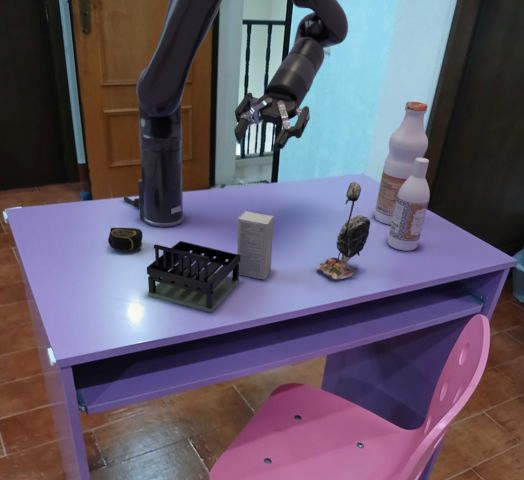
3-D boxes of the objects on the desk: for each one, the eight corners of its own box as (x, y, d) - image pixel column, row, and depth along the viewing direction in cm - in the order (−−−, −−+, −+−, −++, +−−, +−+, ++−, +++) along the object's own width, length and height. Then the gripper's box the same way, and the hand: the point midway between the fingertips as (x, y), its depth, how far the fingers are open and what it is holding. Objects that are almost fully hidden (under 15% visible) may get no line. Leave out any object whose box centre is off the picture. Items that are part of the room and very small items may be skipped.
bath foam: (402, 253, 127) (423, 166, 115) (381, 242, 132) (399, 156, 120) (423, 248, 130) (445, 162, 119) (401, 237, 135) (421, 153, 123)
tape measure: (143, 241, 123) (142, 225, 120) (140, 255, 117) (139, 239, 115) (111, 240, 122) (110, 224, 120) (107, 254, 116) (105, 237, 114)
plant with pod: (373, 274, 118) (393, 181, 106) (329, 284, 113) (345, 187, 101) (350, 258, 123) (367, 168, 112) (307, 266, 118) (320, 173, 107)
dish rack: (148, 296, 104) (145, 245, 98) (180, 267, 114) (179, 220, 108) (211, 313, 100) (212, 261, 95) (239, 282, 111) (241, 234, 105)
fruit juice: (375, 210, 149) (398, 97, 132) (411, 216, 147) (438, 102, 131) (371, 222, 141) (394, 104, 125) (408, 229, 139) (437, 110, 123)
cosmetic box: (270, 271, 115) (275, 216, 108) (263, 281, 112) (268, 224, 105) (242, 265, 117) (245, 209, 110) (234, 274, 113) (237, 217, 106)
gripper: (257, 60, 112) (220, 119, 107) (322, 75, 107) (287, 136, 103) (262, 91, 118) (228, 147, 113) (324, 106, 114) (291, 165, 109)
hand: (256, 142), depth 108 cm, fingers open, 8 cm apart
